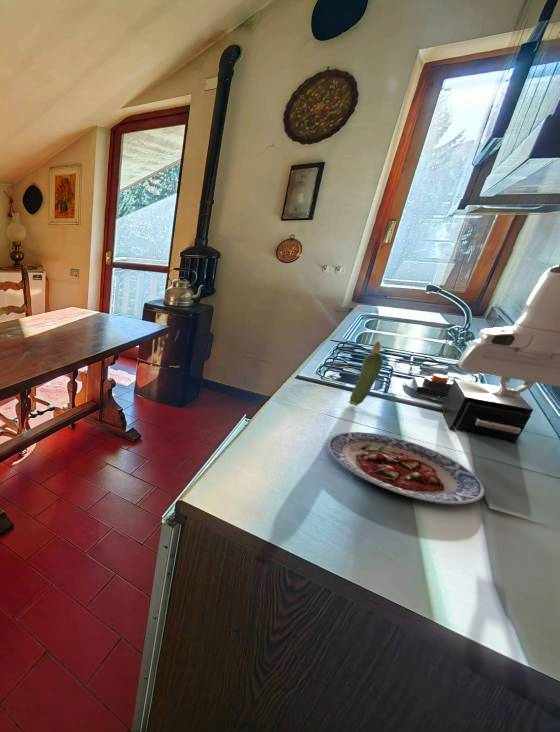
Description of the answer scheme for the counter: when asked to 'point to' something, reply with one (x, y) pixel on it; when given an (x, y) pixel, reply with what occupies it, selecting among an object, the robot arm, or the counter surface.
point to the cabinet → (477, 400)
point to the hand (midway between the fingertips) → (506, 396)
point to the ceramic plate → (406, 468)
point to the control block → (431, 386)
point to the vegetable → (367, 375)
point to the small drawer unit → (492, 421)
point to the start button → (440, 378)
